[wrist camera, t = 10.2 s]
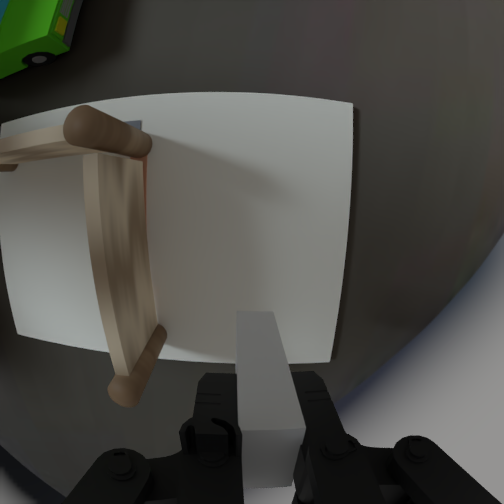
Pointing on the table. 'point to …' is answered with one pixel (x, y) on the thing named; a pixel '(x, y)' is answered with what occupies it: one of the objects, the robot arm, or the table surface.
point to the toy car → (35, 32)
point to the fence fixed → (75, 139)
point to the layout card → (195, 223)
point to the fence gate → (122, 271)
